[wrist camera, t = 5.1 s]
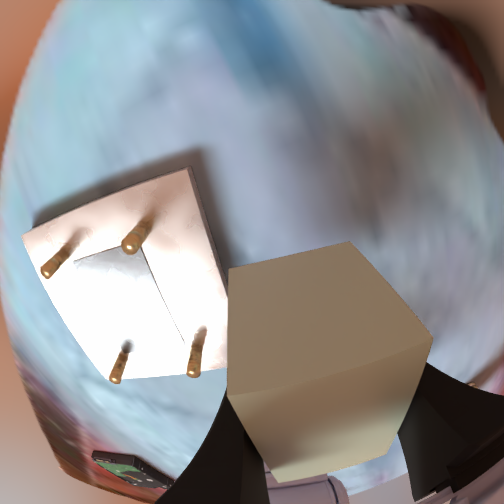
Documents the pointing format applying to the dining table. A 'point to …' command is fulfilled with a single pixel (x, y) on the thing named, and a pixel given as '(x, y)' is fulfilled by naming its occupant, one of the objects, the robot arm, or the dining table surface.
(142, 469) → the disk drive
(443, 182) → the dining table surface
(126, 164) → the dining table surface
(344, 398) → the block
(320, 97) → the dining table surface
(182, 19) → the dining table surface
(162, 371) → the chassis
